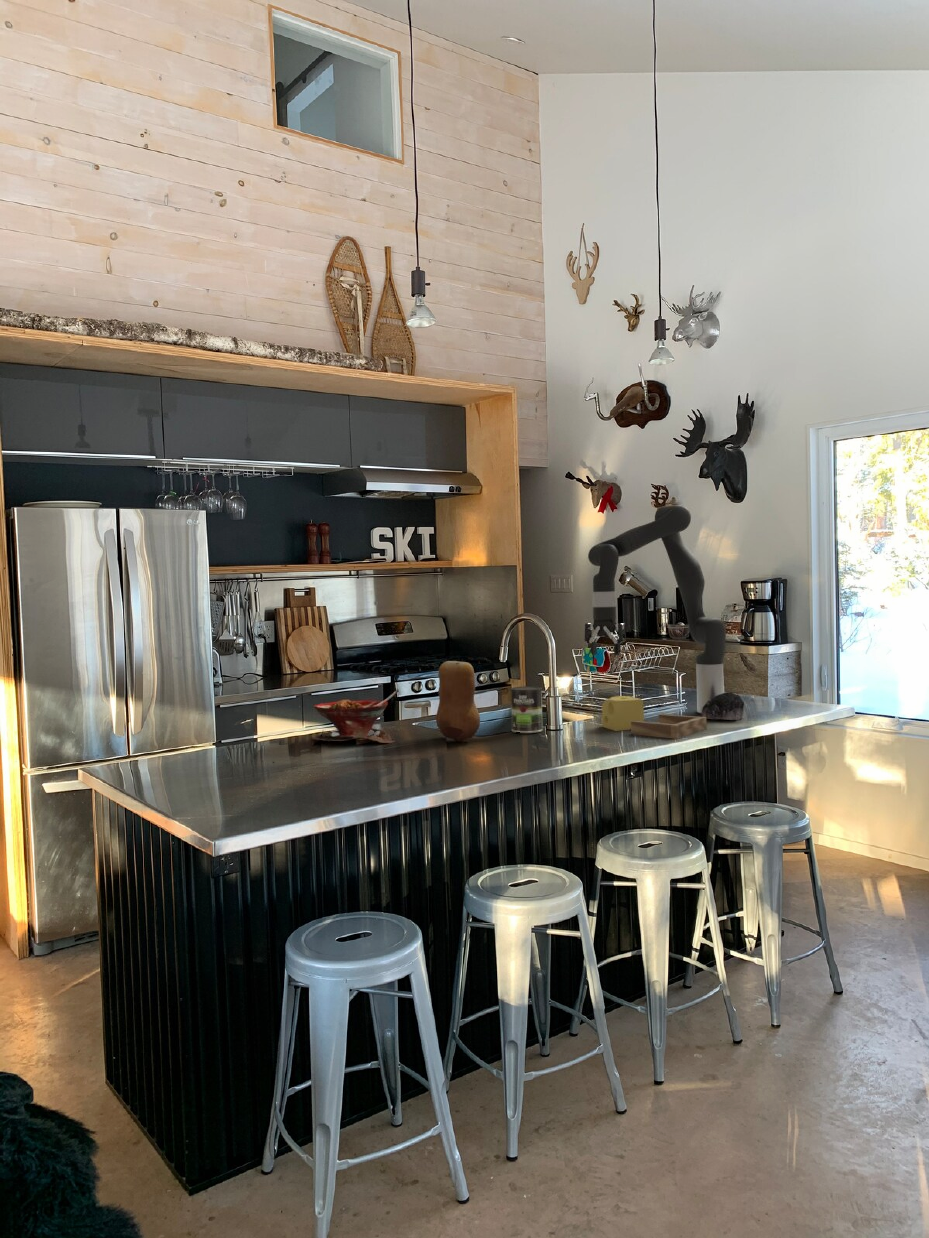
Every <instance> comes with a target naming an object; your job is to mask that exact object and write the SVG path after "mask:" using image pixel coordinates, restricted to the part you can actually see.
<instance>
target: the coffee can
mask: <svg viewBox="0 0 929 1238" xmlns="http://www.w3.org/2000/svg"><path fill="white" fill-rule="evenodd" d="M509 690H510V703H511V704H510V708H511V732H512V733H516V732H520V733H519V734H535V733H540V732H543V731H544V729H543V697H542V694H543V692H542V690H543V687H540V686H531V685H529V686H513V687H511V688H510V689H509Z"/></svg>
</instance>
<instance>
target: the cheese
mask: <svg viewBox="0 0 929 1238" xmlns="http://www.w3.org/2000/svg"><path fill="white" fill-rule="evenodd" d="M644 710H645V708H644V702H643V699H642V698H637V697H634V696H630V695H618V696H616V695H615V696H611V697H609V698H605V700H604V702H603V703H602V705H601V712H602V716H601V719H600V723H601V727H602V728H606V729H608V730H611V731H614V732H619V731H631V730H630V729H631V722H632V721H643V722H645V719H644V718H645V712H644Z"/></svg>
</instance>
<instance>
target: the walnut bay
mask: <svg viewBox="0 0 929 1238" xmlns="http://www.w3.org/2000/svg"><path fill="white" fill-rule="evenodd" d="M704 729H705V730H707V719H706V717H703V716H695V715H694V716H691V715H684V714H683V715H681V714H680V715H679V714H668V713H659V714H658V722H652V721H644V722H643V721H632V722H631V730H630V733H631V734H630V735H634V736H644V737H657V738H666V739H678V740H679V739H681V738H684V737H687V736H690V735H693V734H696V733H699V732H701V730H702V731H704ZM695 732H696V733H695ZM692 733H693V734H692ZM683 736H684V737H683ZM680 737H681V738H680Z"/></svg>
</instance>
